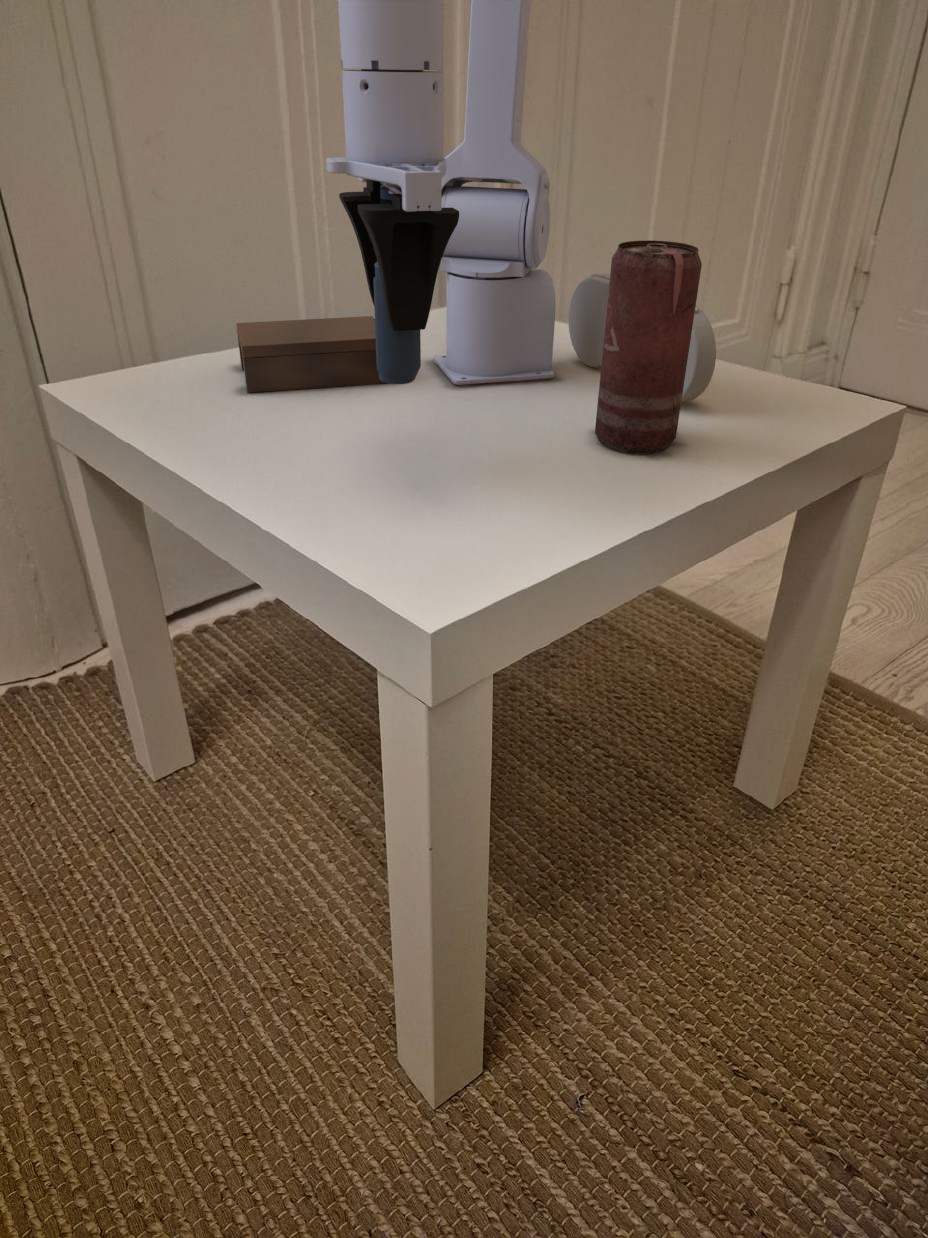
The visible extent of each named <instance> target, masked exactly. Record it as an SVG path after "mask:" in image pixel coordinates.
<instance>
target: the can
mask: <svg viewBox="0 0 928 1238" xmlns="http://www.w3.org/2000/svg"><path fill="white" fill-rule="evenodd" d="M610 262H611V263H610V273H609V274H610V282H609V292H608V303H607V313H606V323H605V333H604V344H603V354H602V364H601V367H600V375H599V385H598V394H597V395H598V396H597V406H596V417H595V426H594V434H595V436H596V438H597V441H598V442H599V443H600V444H601V445H602V446H604V447H605V448H607V449H609V450H612V451H615V452H618V453H624V454H628V455H629V454H631V455H651V454H652V455H653V454H657V453H661V452H664V451H666V450H668V449H669V448H670V446H671V445H672V444H673V443H674V441H675V440H677V435H678V426H679V419H680V414H681V413H680V412H681V407H682V402H681V401H682V394H683V387H684V380H685V374H686V367H687V360H688V354H689V347H690V340H691V333H692V327H693V320H694V313H695V307H696V305H697V300H698V293H699V287H700V286H699V285H700V279H701V272H702V266H703V263H702V261H701V257H700V255H699V248H698V246H695V245H693V244H688V243H685V242H684V243H683V242H676V241H670V240H669V241H667V240H648V239H647V240H646V239H645V240H630V241H625V242H621V243H619V244H618V245H617V249H616V250H615V252H614V253H613V255H612V257H611V261H610Z"/></svg>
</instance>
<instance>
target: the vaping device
mask: <svg viewBox="0 0 928 1238" xmlns="http://www.w3.org/2000/svg"><path fill="white" fill-rule="evenodd" d="M389 190H390V189H388V188H386V187H385V186H384V187H381V188H380V197H381V204H391V205H392V194H390V193H389ZM374 265H375V277H374V279H373V283H374V305H373V308H374V319H375V335H376V361H377V370H378V372H379V379H380V380H381V381H382V382H384V383H383V384H389V385H406V384H410V383H413V382H414V381H415V380H416V378H417V376H418V373H419V371H420V369H421V366H422V359H421V358H422V355H421V351H422V350H421V347H422V346H421V345H422V344H421V330H407V331H393V330H392V328H391V325H390V322H389V319H388V315H387V311H386V306H385V300H384V294H383V287H382V281H381V275H380V270H379V266H378V261H377V262H376V263H375V264H374Z"/></svg>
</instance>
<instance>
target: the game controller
mask: <svg viewBox="0 0 928 1238" xmlns="http://www.w3.org/2000/svg"><path fill="white" fill-rule="evenodd" d="M609 282H610V273H607V272H598V273H591V274H590V276H588V277H586V278H584V279H583V280H581V281H580V282H579V283H578V285H577V286H576V287H575V289H574V291H573V293H572V296H571V298H570V303H569V309H568V333H569V337H570V341H571V345H572V347H573V350H574V352H575V354H576V356H577V357H578V359H579V360H580V361H581V362H582V363H583V364H584V365H586V366H588V367H590V368H601V364H602V354H603V344H604V333H605V323H606V313H607V303H608V292H609ZM716 361H717V343H716V336H715V332H714V329H713V326H712V324H711V321H710V320H709V317H708V316H707V315H706V313H705V312H704V311H703V309H701V308H700V307H699V306H698V305H697V304H696V307H695V313H694V320H693V327H692V333H691V340H690V347H689V354H688V360H687V367H686V374H685V380H684V387H683V394H682V401H681V403H685V402H689V401H692V400H695V399H696V398H698V397H700V396H701V395H702V394H703V393H704V392H705V391H706V389H707V387H709V383H710V382H711V380H712V377H713V376H714V371H715V368H716Z"/></svg>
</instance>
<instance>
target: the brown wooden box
mask: <svg viewBox="0 0 928 1238" xmlns="http://www.w3.org/2000/svg"><path fill="white" fill-rule="evenodd" d="M235 325H236V326H235V327H236V333H237V342H238V352H239V359H240V367H241V370H242V371H244V380H245V389H246V393H247V394H251V393H267V392H281V391H293V390H294V391H295V390H307V389H322V388H335V387H350V386H352V387H353V386H363V385H364V386H366V385H379V384H380V385H381V384H385V383H384V382H382V381H381V380H380V379H379V372H378V370H377V361H376V335H375V316H373V315H368V316H347V317H346V316H345V317H329V318H327V317H325V318H310V319H309V318H308V319H289V320H287V319H286V320H270V321H249V322H236V324H235Z"/></svg>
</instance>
